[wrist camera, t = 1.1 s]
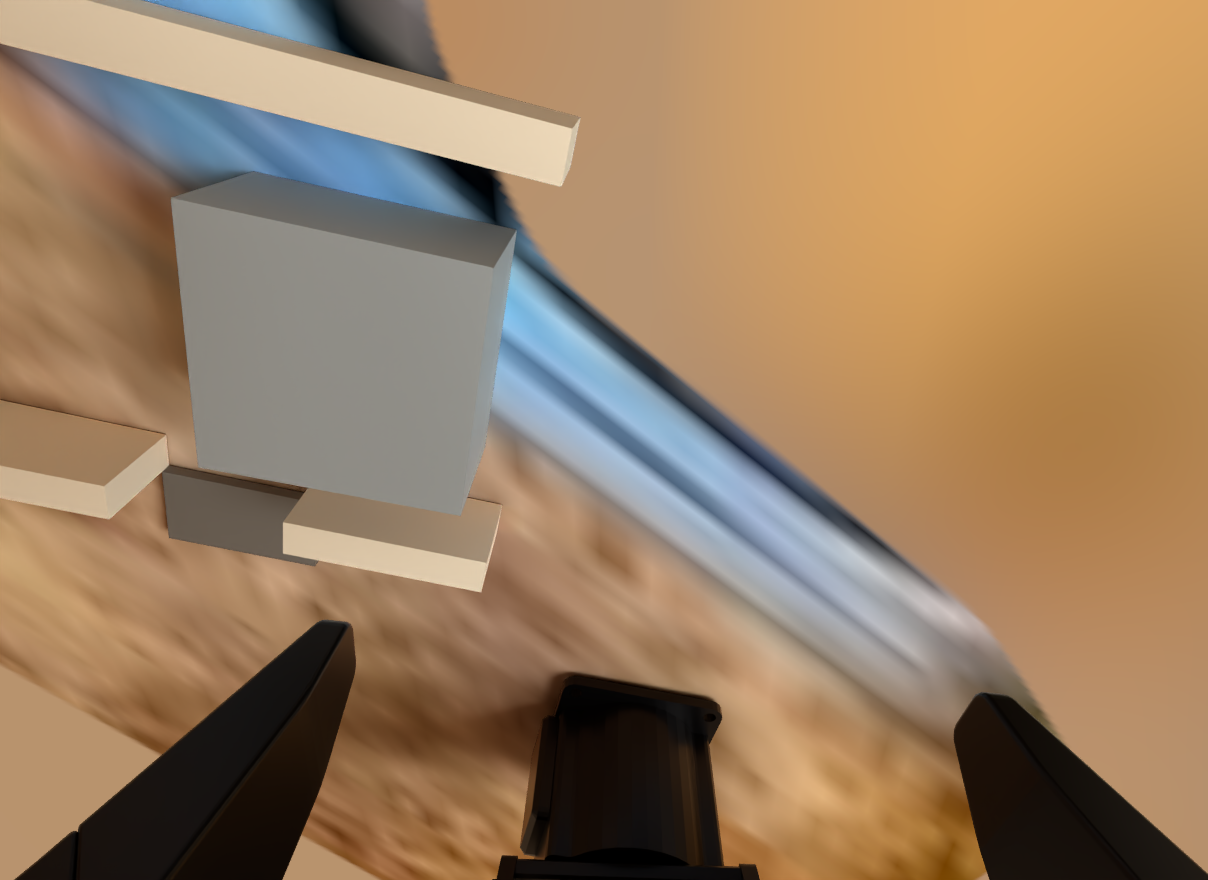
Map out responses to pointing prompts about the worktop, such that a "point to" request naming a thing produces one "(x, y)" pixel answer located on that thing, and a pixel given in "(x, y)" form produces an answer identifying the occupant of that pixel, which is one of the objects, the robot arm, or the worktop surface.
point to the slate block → (340, 338)
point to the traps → (228, 513)
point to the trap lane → (312, 94)
